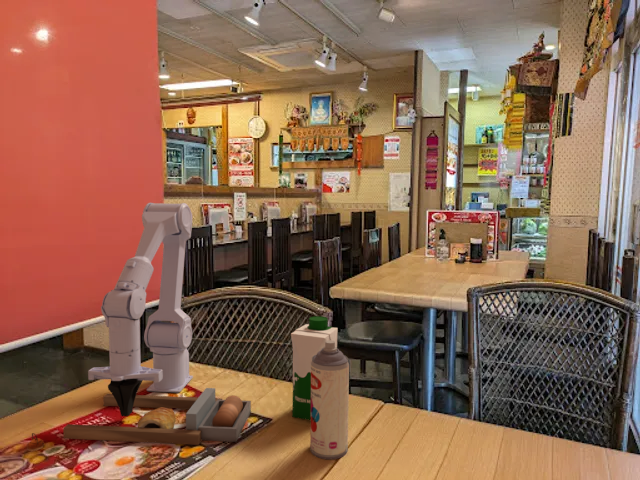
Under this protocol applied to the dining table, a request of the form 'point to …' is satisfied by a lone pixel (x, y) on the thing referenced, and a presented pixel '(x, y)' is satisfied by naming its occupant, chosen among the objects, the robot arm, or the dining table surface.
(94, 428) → the rail
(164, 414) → the pastry
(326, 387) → the aerosol can
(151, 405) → the rail
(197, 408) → the block
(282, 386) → the dining table surface
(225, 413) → the roller
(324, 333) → the milk carton
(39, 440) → the round teapot
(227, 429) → the cradle
